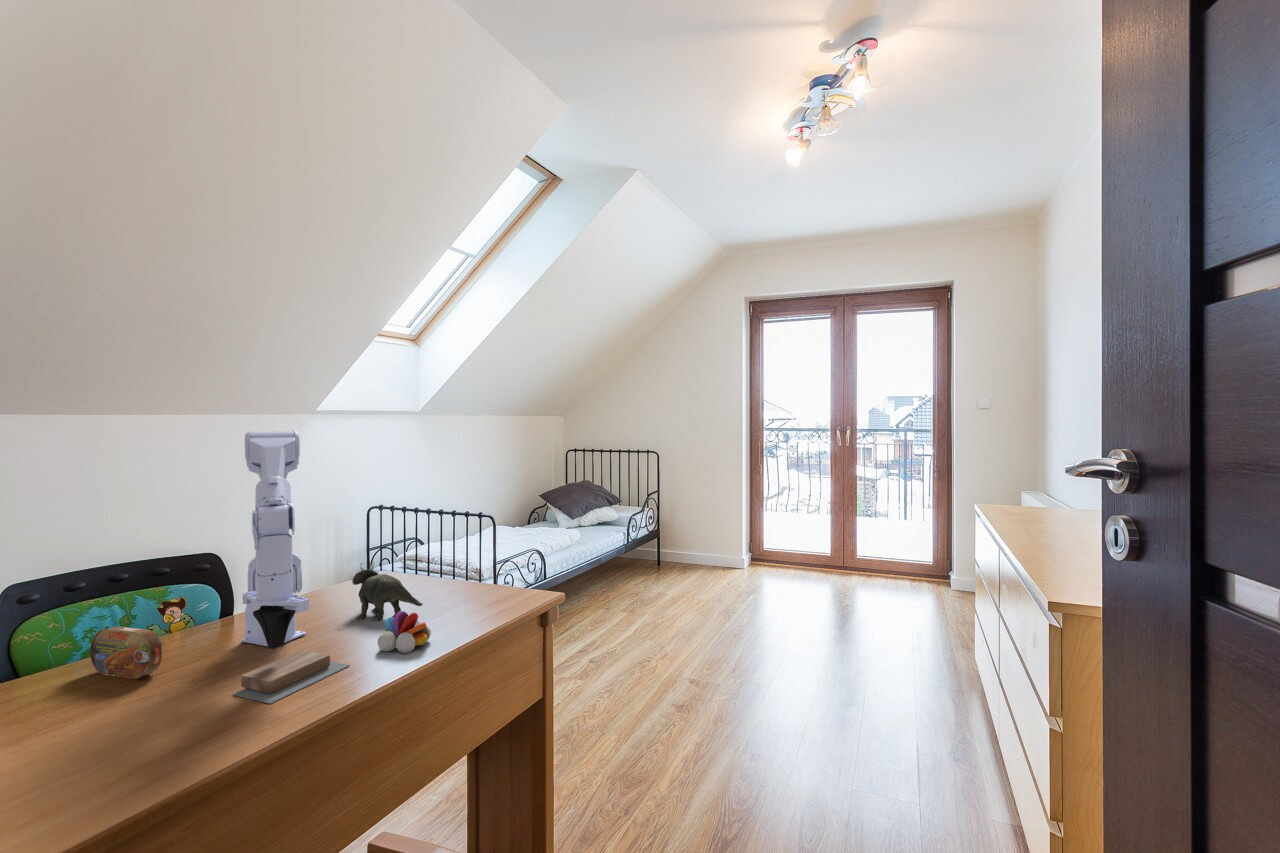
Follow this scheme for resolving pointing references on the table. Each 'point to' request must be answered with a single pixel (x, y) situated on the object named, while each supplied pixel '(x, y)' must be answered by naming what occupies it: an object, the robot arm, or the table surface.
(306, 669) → the wooden block
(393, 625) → the rainbow petal rattle
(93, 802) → the table surface
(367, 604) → the dinosaur figurine
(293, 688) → the felt mat
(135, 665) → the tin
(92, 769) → the table surface
